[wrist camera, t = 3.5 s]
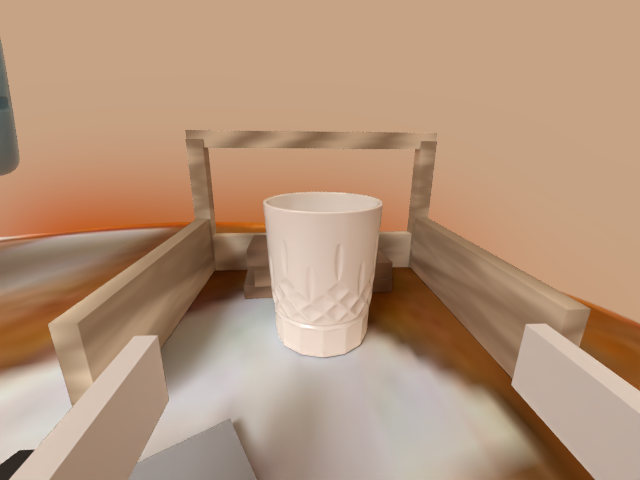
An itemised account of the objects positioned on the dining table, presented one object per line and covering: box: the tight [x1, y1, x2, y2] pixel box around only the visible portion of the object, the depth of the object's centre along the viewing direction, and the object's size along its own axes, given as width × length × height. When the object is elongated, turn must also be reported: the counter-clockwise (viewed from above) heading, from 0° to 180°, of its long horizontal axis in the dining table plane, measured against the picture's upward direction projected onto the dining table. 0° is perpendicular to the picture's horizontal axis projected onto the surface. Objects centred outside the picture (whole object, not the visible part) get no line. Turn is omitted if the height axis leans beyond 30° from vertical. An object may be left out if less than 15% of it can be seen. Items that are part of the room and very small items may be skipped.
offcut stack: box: [244, 235, 393, 299], centre depth 30 cm, size 14×6×5 cm, turn 97°
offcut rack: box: [48, 130, 591, 407], centre depth 24 cm, size 25×21×15 cm
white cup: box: [263, 192, 383, 358], centre depth 22 cm, size 8×8×10 cm
